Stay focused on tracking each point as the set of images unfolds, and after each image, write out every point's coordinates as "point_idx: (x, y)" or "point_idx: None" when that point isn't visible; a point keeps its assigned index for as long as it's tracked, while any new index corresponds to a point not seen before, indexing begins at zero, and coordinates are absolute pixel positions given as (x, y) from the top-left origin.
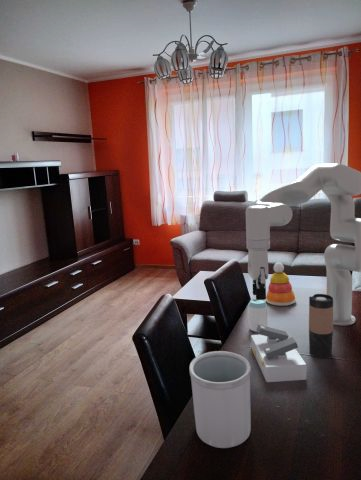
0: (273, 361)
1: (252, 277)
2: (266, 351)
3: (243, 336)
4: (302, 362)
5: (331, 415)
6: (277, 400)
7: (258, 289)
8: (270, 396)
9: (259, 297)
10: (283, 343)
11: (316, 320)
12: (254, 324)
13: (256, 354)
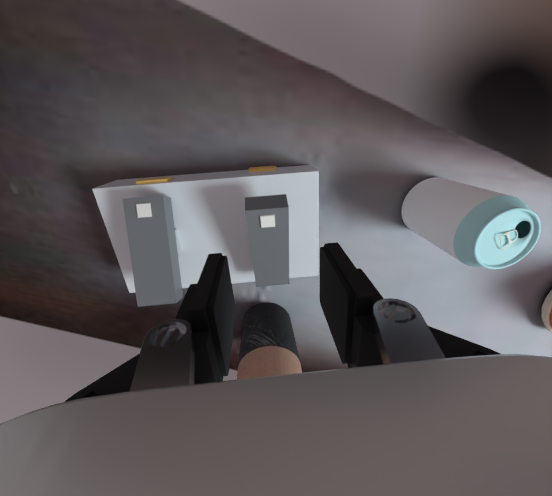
0: None
1: (54, 437)
2: (135, 204)
3: (391, 149)
4: None
5: (18, 287)
6: (38, 192)
7: (195, 322)
8: (51, 178)
9: (192, 284)
10: (153, 267)
11: None
12: (422, 196)
13: (236, 172)
